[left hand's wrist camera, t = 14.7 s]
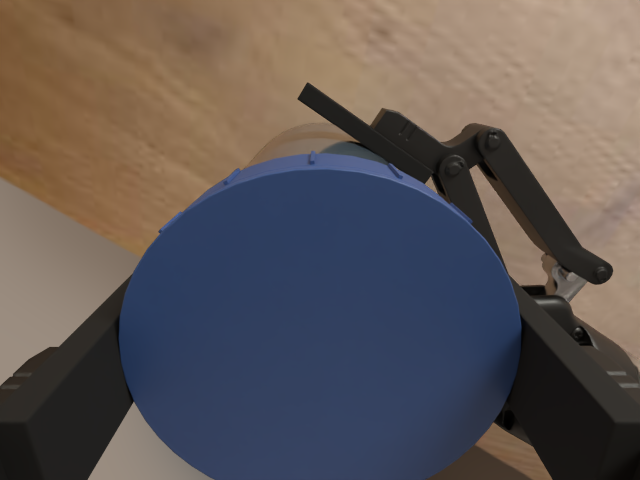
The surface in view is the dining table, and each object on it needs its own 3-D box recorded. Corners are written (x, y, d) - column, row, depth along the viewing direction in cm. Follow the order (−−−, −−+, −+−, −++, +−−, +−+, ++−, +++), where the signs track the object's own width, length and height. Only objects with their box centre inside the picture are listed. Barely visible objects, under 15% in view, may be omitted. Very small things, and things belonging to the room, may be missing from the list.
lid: (214, 470, 15) (197, 528, 13) (92, 201, 11) (44, 226, 9) (501, 419, 14) (531, 473, 12) (472, 111, 10) (509, 116, 8)
